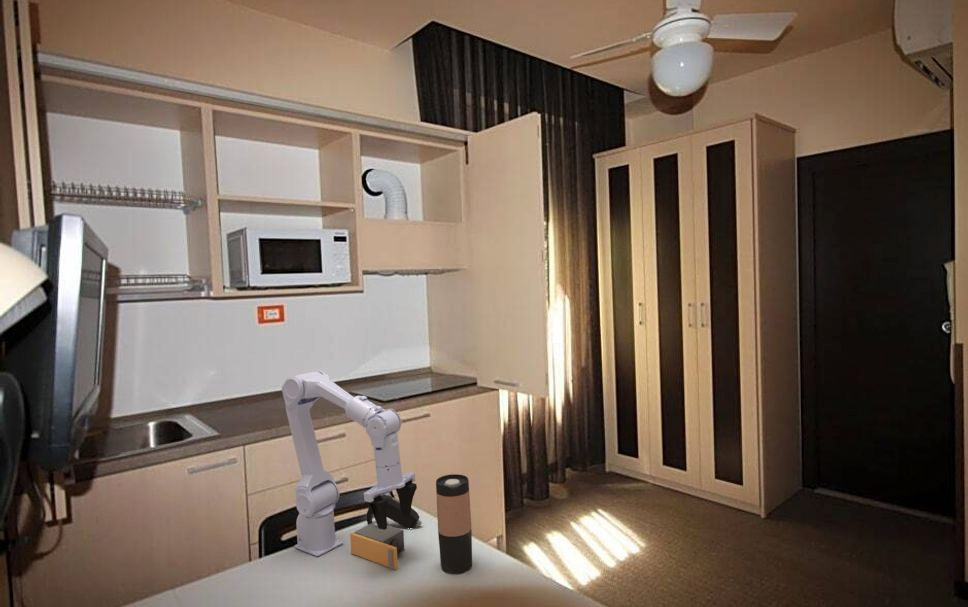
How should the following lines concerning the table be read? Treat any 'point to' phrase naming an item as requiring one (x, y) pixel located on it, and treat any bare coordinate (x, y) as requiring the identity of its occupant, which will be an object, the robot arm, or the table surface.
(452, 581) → the table surface
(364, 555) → the side door
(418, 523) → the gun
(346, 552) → the table surface
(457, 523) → the travel mug
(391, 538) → the camera housing
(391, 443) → the robot arm
